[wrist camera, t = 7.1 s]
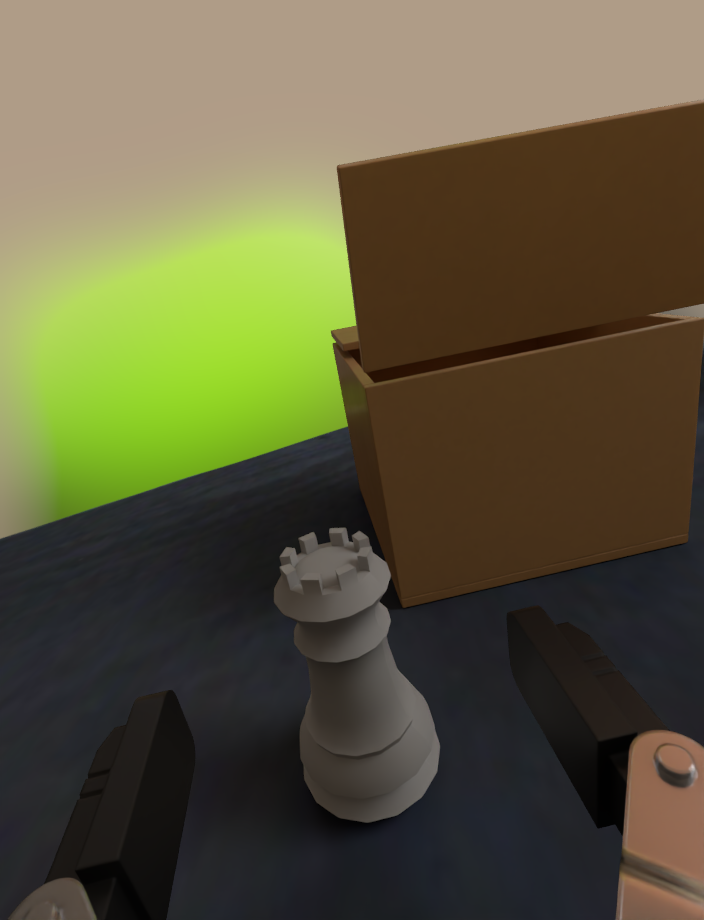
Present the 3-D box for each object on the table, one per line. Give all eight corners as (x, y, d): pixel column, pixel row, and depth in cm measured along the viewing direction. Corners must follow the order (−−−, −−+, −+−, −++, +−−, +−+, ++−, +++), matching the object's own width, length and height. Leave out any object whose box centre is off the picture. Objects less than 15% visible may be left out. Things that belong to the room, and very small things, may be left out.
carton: (545, 448, 37) (538, 289, 33) (688, 542, 24) (707, 297, 20) (359, 488, 36) (329, 330, 32) (402, 608, 23) (360, 367, 19)
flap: (778, 85, 15) (789, 86, 15) (702, 298, 20) (710, 302, 20) (336, 165, 15) (338, 167, 14) (361, 368, 19) (363, 373, 19)
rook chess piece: (458, 722, 17) (430, 516, 14) (413, 859, 13) (364, 621, 10) (343, 691, 19) (299, 507, 16) (278, 802, 15) (206, 590, 13)
